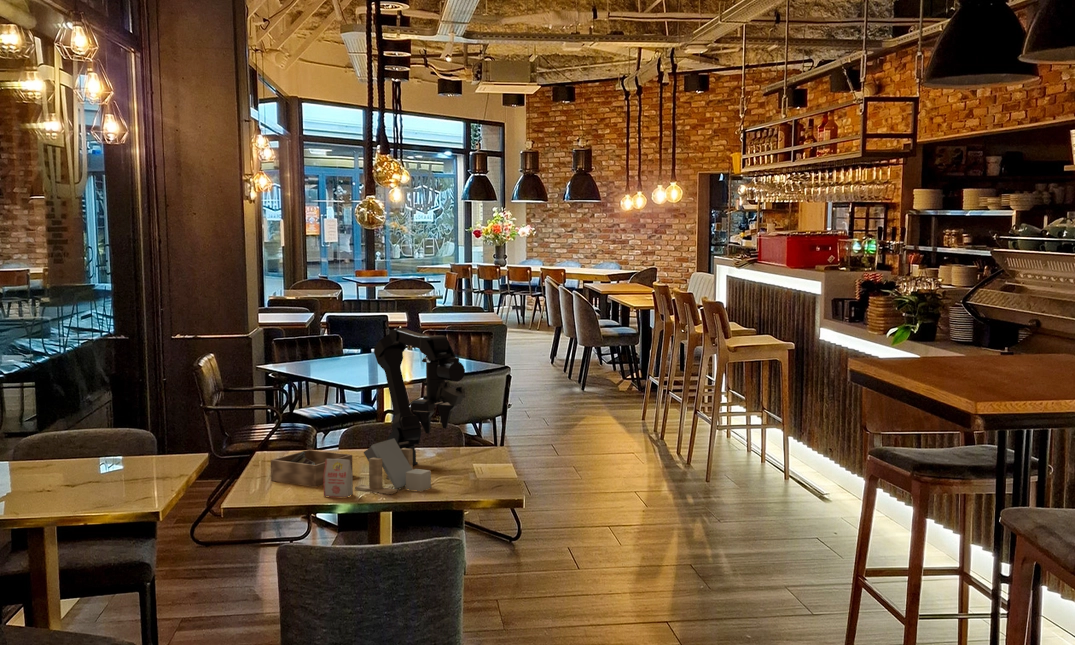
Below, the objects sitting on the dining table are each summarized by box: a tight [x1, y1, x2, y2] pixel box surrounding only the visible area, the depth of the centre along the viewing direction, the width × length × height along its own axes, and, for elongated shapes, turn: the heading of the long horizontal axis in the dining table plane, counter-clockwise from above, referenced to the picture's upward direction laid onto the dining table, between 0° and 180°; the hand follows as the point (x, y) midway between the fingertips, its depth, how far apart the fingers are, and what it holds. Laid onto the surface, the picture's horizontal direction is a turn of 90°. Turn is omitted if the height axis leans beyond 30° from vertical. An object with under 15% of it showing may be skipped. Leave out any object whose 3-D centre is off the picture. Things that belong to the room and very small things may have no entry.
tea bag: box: [322, 459, 354, 498], centre depth 251 cm, size 4×7×10 cm, turn 79°
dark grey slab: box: [363, 438, 412, 490], centre depth 262 cm, size 14×10×5 cm
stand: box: [354, 448, 414, 495], centre depth 262 cm, size 12×18×9 cm
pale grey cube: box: [405, 468, 432, 492], centre depth 259 cm, size 5×5×5 cm
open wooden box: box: [270, 449, 354, 488], centre depth 272 cm, size 16×16×6 cm
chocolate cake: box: [290, 450, 315, 465], centre depth 272 cm, size 10×7×12 cm
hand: (436, 430), depth 275 cm, fingers open, 9 cm apart
